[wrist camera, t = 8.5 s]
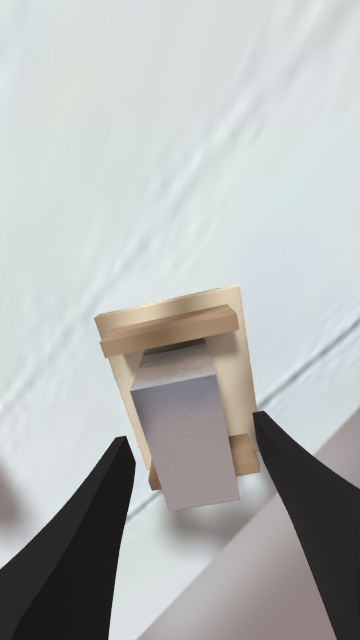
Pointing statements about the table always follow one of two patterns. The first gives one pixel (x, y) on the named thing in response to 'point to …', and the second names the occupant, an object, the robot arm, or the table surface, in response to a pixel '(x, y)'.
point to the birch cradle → (178, 326)
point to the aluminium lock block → (185, 424)
